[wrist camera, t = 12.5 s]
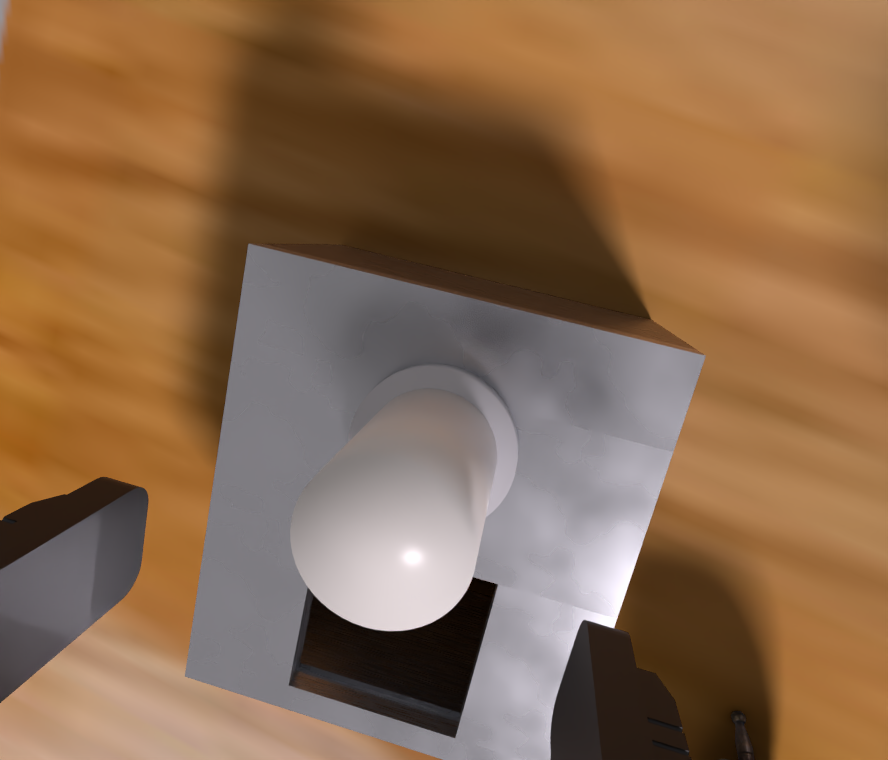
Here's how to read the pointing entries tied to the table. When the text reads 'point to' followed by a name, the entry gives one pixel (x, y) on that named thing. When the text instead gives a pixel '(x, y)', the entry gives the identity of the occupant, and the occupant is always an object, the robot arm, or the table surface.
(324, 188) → the table surface
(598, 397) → the keyhole stand
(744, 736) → the alarm clock
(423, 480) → the peg
